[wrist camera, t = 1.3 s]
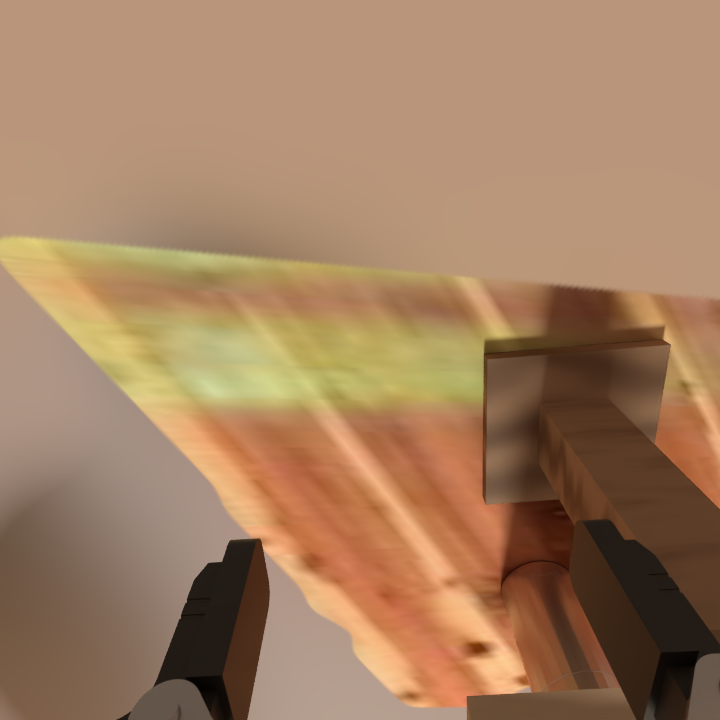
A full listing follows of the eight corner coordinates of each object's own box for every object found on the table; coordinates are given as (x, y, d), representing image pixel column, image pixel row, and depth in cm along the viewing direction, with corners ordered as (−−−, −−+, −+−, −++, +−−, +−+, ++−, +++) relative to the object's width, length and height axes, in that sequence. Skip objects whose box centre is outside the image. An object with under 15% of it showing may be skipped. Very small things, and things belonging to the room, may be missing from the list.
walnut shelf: (638, 488, 58) (1005, 932, 25) (482, 499, 58) (640, 947, 26) (663, 334, 50) (1228, 677, 18) (484, 349, 51) (708, 706, 18)
